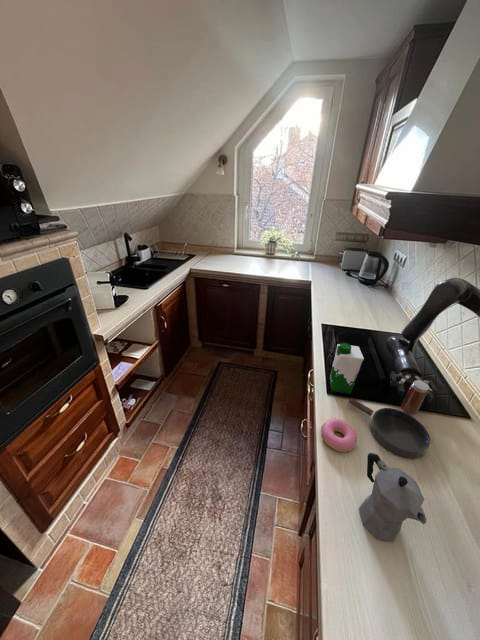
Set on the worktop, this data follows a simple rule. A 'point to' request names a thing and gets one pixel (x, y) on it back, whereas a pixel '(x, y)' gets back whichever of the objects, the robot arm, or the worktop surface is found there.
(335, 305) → the worktop surface
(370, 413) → the pan handle
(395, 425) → the pan
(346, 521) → the worktop surface
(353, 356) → the milk carton
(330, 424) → the doughnut
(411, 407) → the shaker
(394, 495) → the coffeepot
